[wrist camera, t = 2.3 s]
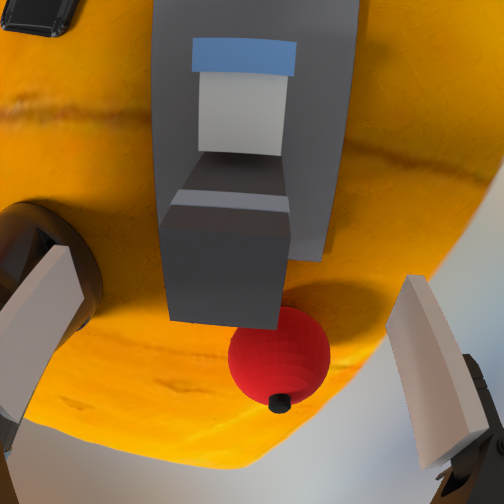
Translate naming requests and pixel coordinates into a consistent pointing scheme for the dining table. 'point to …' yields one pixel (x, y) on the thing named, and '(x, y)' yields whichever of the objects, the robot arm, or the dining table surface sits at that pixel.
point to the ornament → (280, 360)
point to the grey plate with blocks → (255, 96)
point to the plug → (227, 242)
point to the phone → (38, 16)
